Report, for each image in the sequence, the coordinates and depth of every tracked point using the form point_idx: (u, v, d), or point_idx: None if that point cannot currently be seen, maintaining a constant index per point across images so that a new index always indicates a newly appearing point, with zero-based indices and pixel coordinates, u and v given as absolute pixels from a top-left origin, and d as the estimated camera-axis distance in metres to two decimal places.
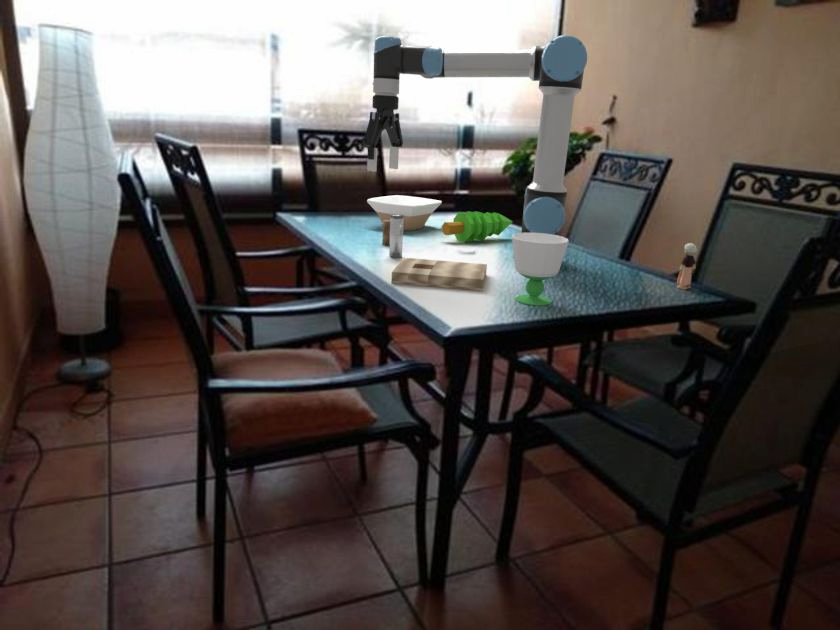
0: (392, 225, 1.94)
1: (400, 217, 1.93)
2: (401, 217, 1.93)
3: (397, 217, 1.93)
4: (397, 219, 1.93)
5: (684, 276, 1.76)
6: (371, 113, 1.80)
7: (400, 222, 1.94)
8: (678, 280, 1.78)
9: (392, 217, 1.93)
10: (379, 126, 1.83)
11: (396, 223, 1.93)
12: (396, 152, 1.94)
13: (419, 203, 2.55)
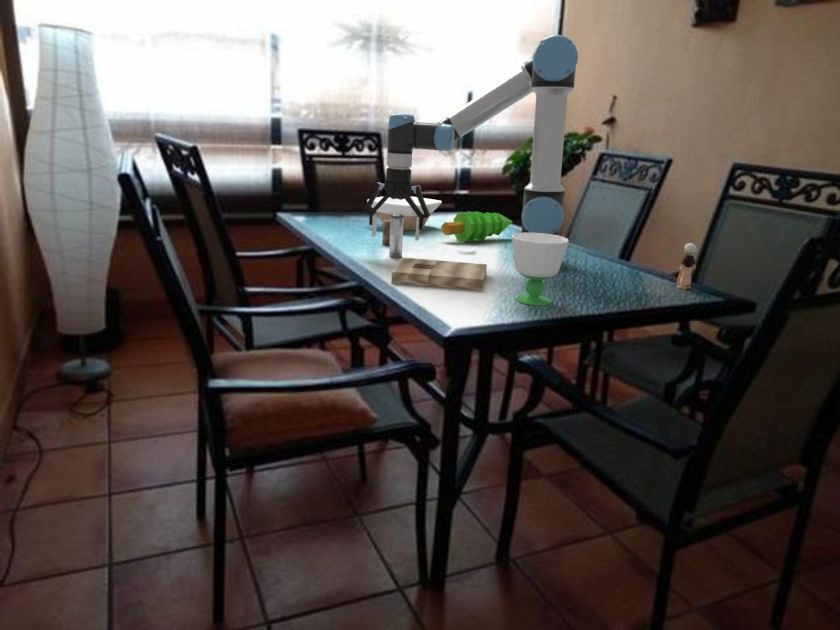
0: (392, 225, 1.94)
1: (400, 217, 1.93)
2: (401, 217, 1.93)
3: (397, 217, 1.93)
4: (397, 219, 1.93)
5: (684, 276, 1.76)
6: None
7: (400, 222, 1.94)
8: (678, 280, 1.78)
9: (392, 217, 1.93)
10: (384, 196, 1.93)
11: (396, 223, 1.93)
12: (416, 224, 1.93)
13: (419, 203, 2.55)
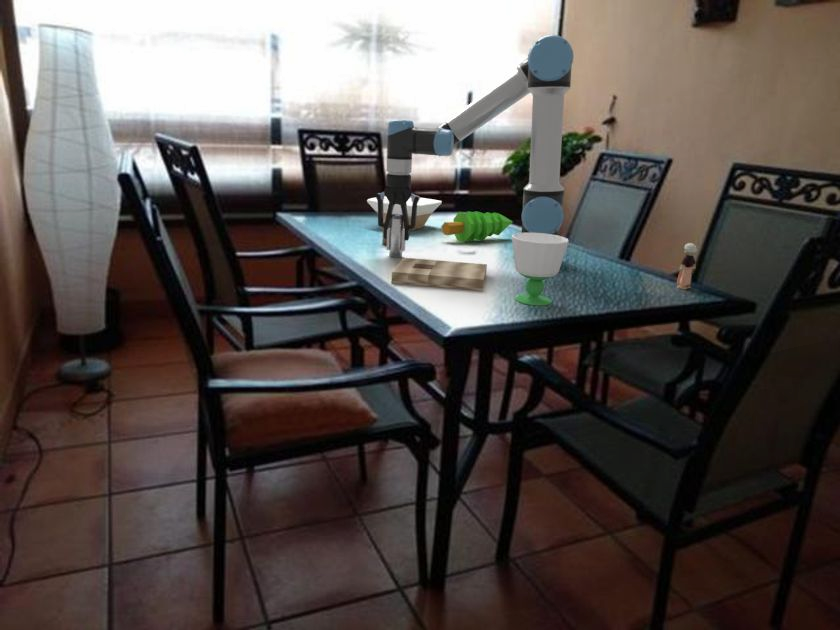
0: (392, 225, 1.94)
1: (400, 217, 1.93)
2: (401, 217, 1.93)
3: (397, 217, 1.93)
4: (397, 219, 1.93)
5: (684, 276, 1.76)
6: None
7: (400, 222, 1.94)
8: (678, 280, 1.78)
9: (392, 217, 1.93)
10: None
11: (396, 223, 1.93)
12: (402, 235, 1.95)
13: (419, 203, 2.55)
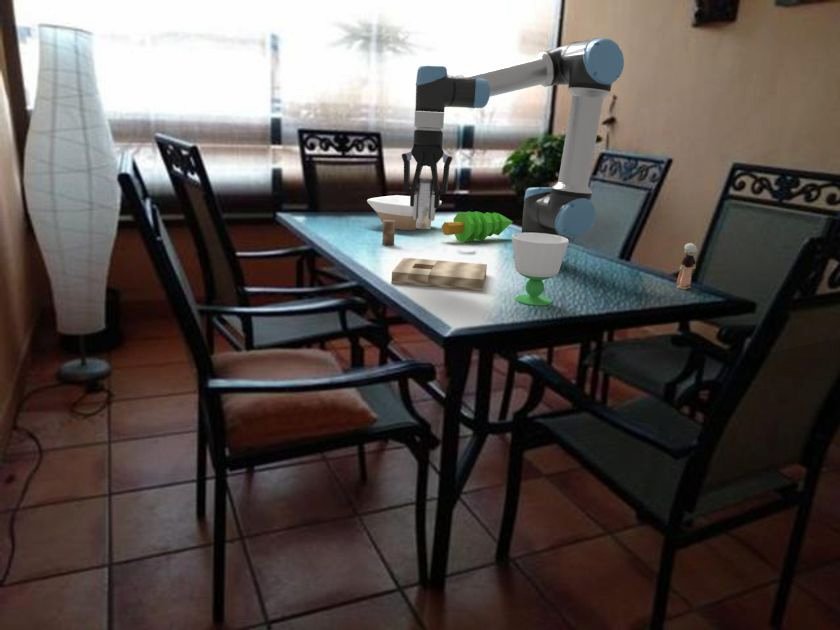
0: (420, 190, 1.67)
1: (429, 181, 1.67)
2: (431, 181, 1.67)
3: (426, 181, 1.66)
4: (426, 184, 1.66)
5: (684, 276, 1.76)
6: None
7: (429, 187, 1.67)
8: (678, 280, 1.78)
9: (420, 181, 1.67)
10: None
11: (425, 188, 1.67)
12: (431, 202, 1.69)
13: None
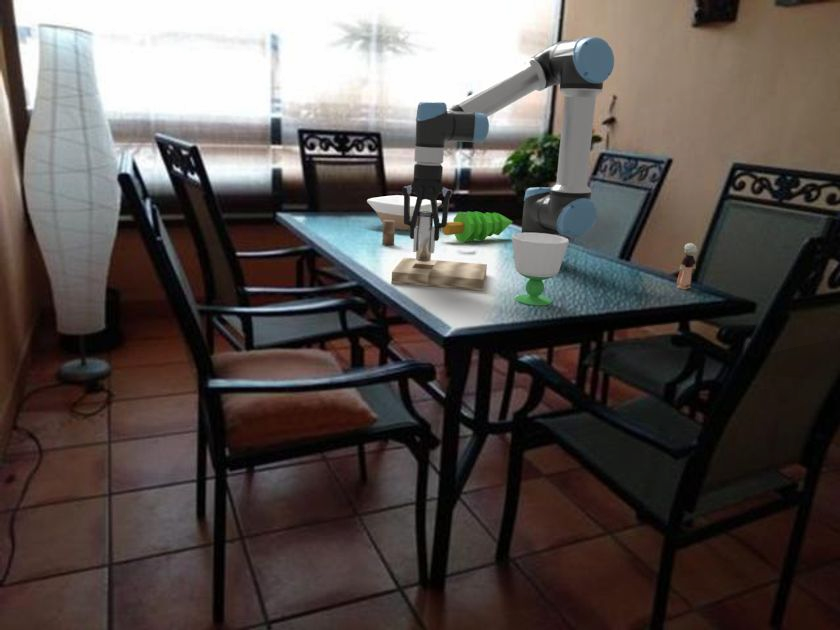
0: (420, 224, 1.69)
1: (429, 215, 1.68)
2: (431, 215, 1.68)
3: (426, 215, 1.68)
4: (426, 217, 1.68)
5: (684, 276, 1.76)
6: None
7: (429, 221, 1.69)
8: (678, 280, 1.78)
9: (420, 215, 1.68)
10: None
11: (425, 222, 1.69)
12: (431, 234, 1.70)
13: None
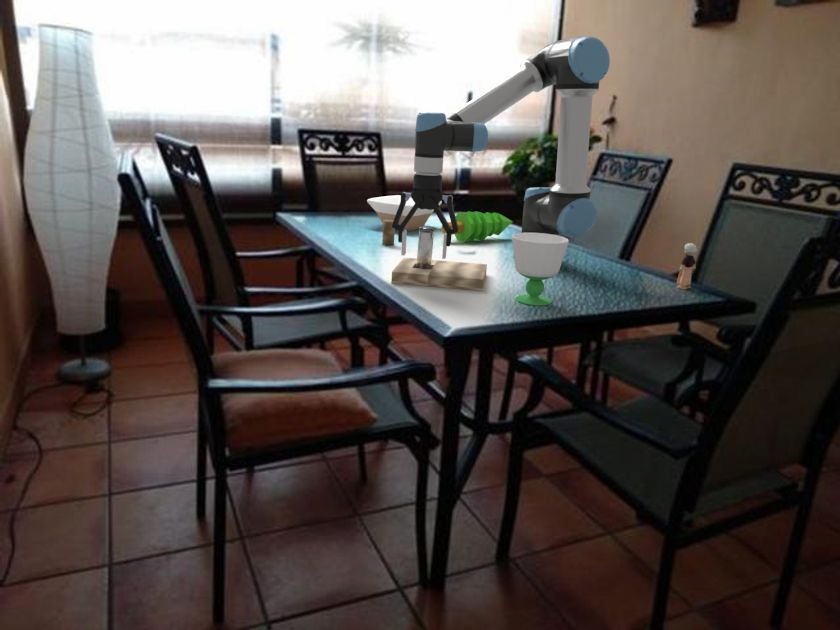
0: (421, 239, 1.70)
1: (430, 231, 1.69)
2: (431, 231, 1.70)
3: (427, 231, 1.69)
4: (427, 233, 1.69)
5: (685, 276, 1.76)
6: None
7: (430, 236, 1.70)
8: (678, 280, 1.78)
9: (421, 230, 1.70)
10: None
11: (426, 237, 1.70)
12: (443, 240, 1.70)
13: None
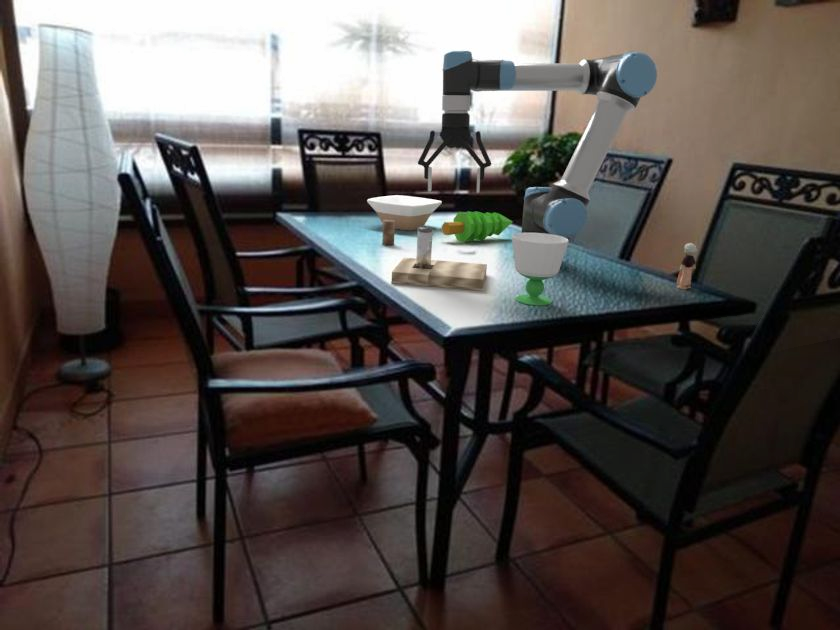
0: (420, 240, 1.70)
1: (429, 231, 1.69)
2: (430, 231, 1.70)
3: (425, 231, 1.69)
4: (425, 233, 1.69)
5: (684, 276, 1.76)
6: None
7: (429, 236, 1.70)
8: (678, 280, 1.78)
9: (420, 231, 1.70)
10: (440, 145, 1.75)
11: (424, 237, 1.70)
12: (477, 174, 1.75)
13: (419, 203, 2.55)
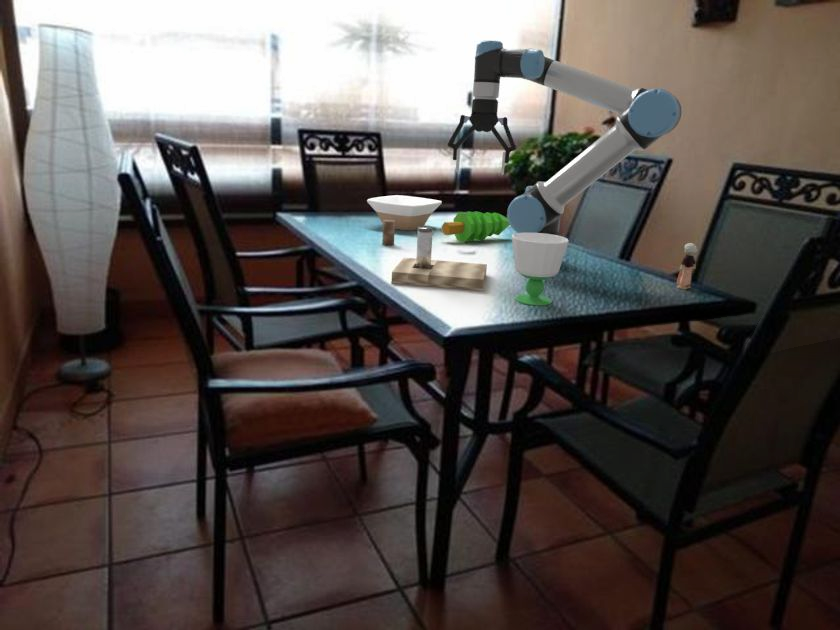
0: (420, 240, 1.71)
1: (429, 230, 1.70)
2: (430, 230, 1.70)
3: (425, 230, 1.69)
4: (426, 233, 1.70)
5: (684, 276, 1.76)
6: None
7: (429, 236, 1.70)
8: (678, 280, 1.78)
9: (420, 230, 1.70)
10: (469, 129, 1.87)
11: (424, 237, 1.70)
12: None
13: (419, 203, 2.55)
